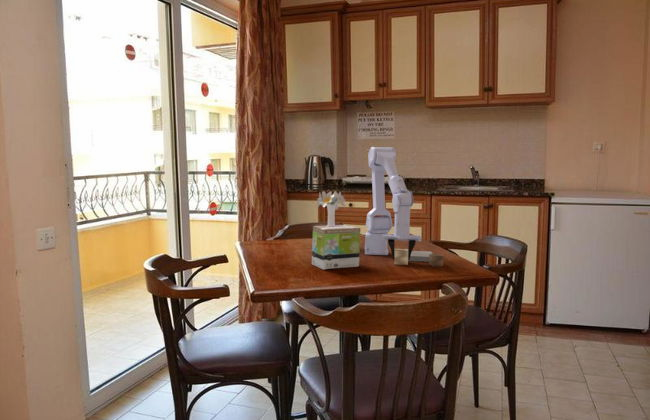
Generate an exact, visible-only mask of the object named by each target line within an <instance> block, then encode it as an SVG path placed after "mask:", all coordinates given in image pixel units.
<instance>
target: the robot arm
mask: <svg viewBox="0 0 650 420" xmlns="http://www.w3.org/2000/svg"><path fill="white" fill-rule="evenodd" d="M367 155H368V156H367V158H368V159H367V160H368V168H370V169H371V184H372V190H371V191H372V207H373V208H372V209H371V210H370V211H368V213H367V214H366V221H365V227H366V230H367V231H366V232H365V238H364V241H365V242H364V255H372V256H373V255H374V256H376V255H377V256H388V255H389V250H388V246H389V248H390V252H391V256H392V260H393V261H394V260H395V246H396V245H395V241H401V242H403V241H405V242H408V248H407V249H408V260H410V256H411V252H412V251H414V247H415V246H416V242H422V235H415V234H410V232H411V231H410V230H411V229H410V228H411V227H410V226H411V225H410V224H411V208H412V207H413V204H414V199H415V198H414V195H413V192H412V191H410V190H409V189H408V188H407V186H406V183H405V181H404V179H403V177H402V176H399V173H398V169H397V165H396V163H395V161H396V158H397V157H396V156H397V152H396V150H395V148H394V147H392V146H390V147H388V146H387V147H383V146H382V147H380V146H379V147H377V146H371V147H370V149H369V151H368V153H367ZM385 172H386V174H387V177H388V178H389V180H388V181H387V182H388V183H387V184H388V186H389V188H390V191H391V194H392V199H391V203H392V206H393V207H392V208H393V212H394V223H393V220H392V214H391V212H390V211H389V210H388V209H386V198H385V197H386V196H385V195H386V194H385V193H386V192H385ZM393 224H394V225H393ZM393 226H394V227H393ZM392 228H394V230H393V232H394V233H393V234H389V233H390V231H392Z"/></svg>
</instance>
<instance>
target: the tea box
mask: <svg viewBox="0 0 650 420" xmlns="http://www.w3.org/2000/svg"><path fill="white" fill-rule="evenodd" d="M311 242H312V243H311V245H312V247H311V248H312V249H311V265H313V266H314V267H317V268H319V269H321V270H328V269H329V270H331V269H341V268H342V269H343V268H344V269H345V268H356V267H359V266H360V254H361V253H360V250H361V248H360V247H361V227H358V226H354V225H350V224H335V225H328V224H327V225H326V224H325V225H313V226H312V241H311Z"/></svg>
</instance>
